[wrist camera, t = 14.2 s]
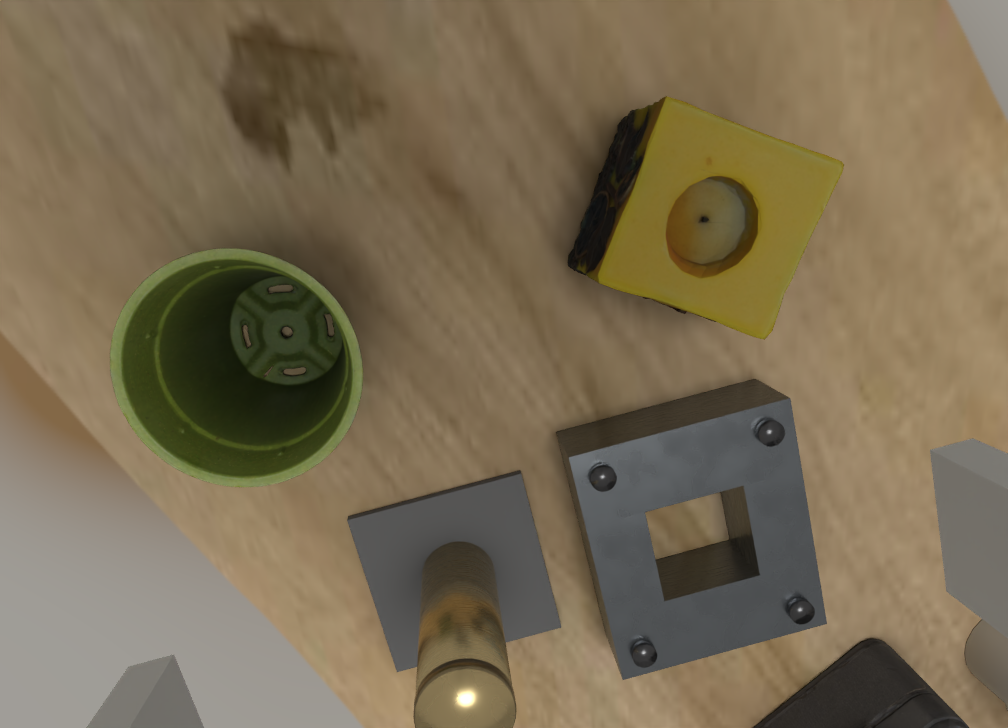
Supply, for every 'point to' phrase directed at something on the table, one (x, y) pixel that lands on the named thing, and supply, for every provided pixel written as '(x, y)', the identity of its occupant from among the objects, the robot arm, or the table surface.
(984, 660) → the grey cylinder cluster
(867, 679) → the camera
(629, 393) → the table surface
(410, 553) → the mat
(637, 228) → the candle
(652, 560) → the housing
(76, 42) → the table surface
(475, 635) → the plug
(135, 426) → the plant pot
